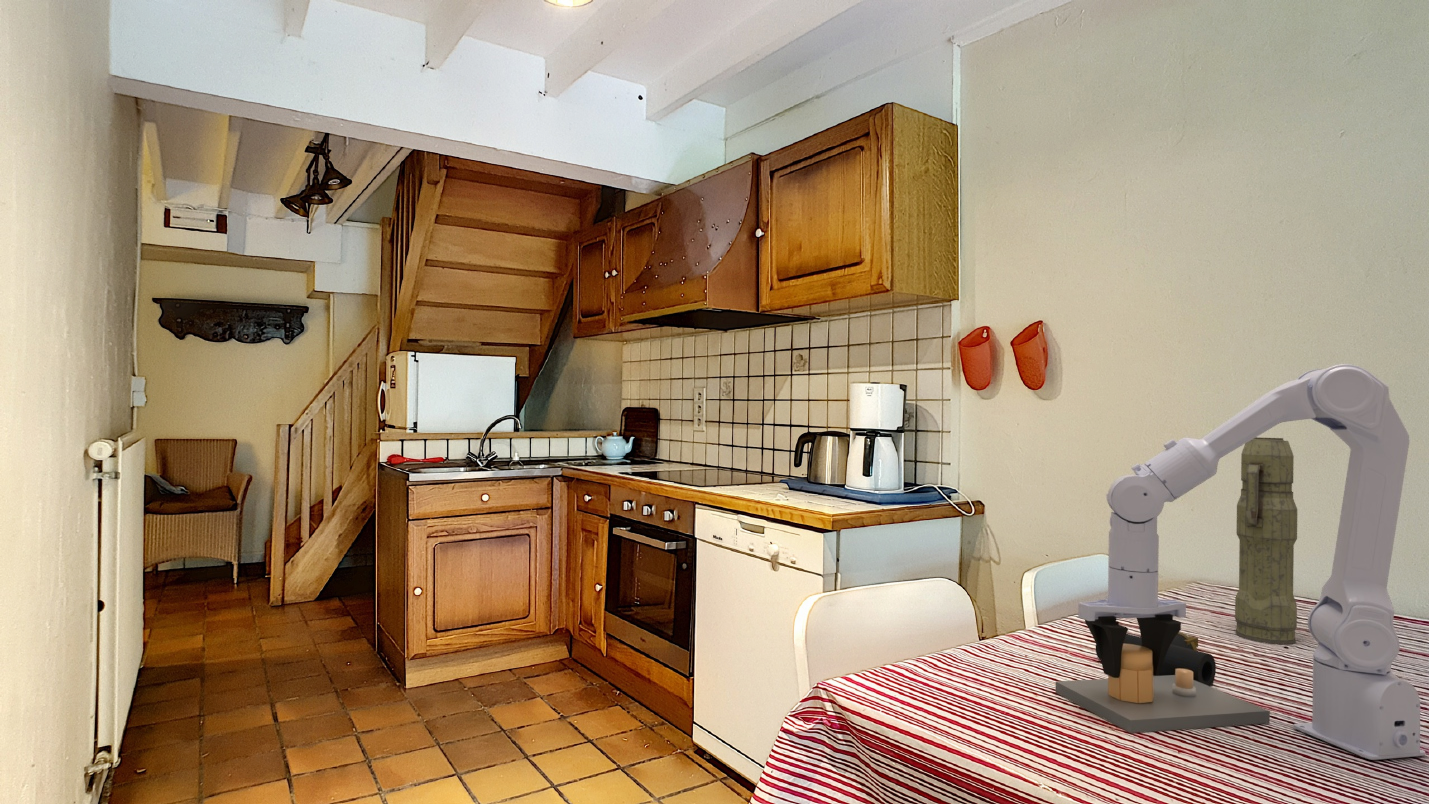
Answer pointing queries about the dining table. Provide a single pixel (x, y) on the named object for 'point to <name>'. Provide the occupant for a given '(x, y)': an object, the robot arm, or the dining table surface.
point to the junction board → (1165, 705)
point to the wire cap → (1133, 675)
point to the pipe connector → (1183, 658)
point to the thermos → (1266, 543)
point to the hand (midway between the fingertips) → (1131, 674)
